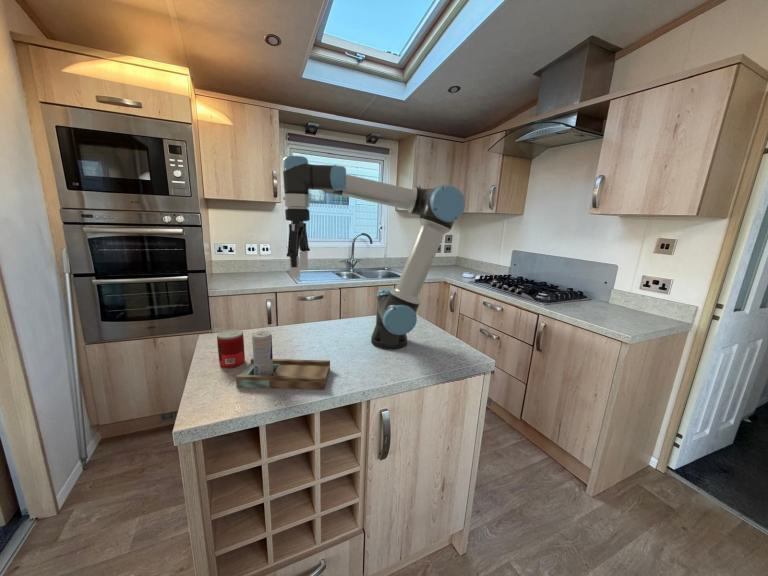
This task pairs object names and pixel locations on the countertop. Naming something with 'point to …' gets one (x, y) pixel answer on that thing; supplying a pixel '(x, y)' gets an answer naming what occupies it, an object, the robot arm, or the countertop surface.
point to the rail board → (288, 375)
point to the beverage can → (262, 353)
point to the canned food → (231, 348)
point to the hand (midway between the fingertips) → (300, 273)
